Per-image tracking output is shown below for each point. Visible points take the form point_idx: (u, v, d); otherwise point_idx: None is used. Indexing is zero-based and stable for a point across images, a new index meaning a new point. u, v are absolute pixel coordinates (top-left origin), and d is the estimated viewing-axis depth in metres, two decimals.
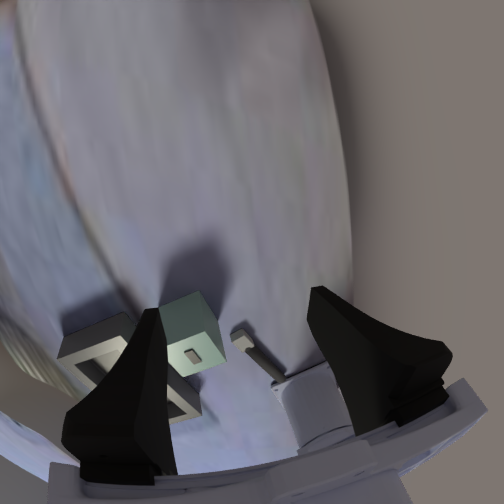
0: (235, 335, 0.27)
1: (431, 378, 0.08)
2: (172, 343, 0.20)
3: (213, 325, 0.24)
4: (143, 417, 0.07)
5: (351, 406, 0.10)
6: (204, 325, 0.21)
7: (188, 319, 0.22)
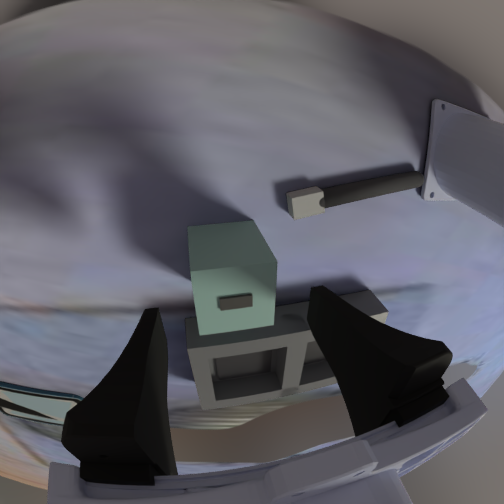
0: (289, 208, 0.17)
1: (431, 378, 0.08)
2: None
3: (232, 238, 0.16)
4: (143, 417, 0.07)
5: (351, 406, 0.10)
6: (192, 263, 0.13)
7: None
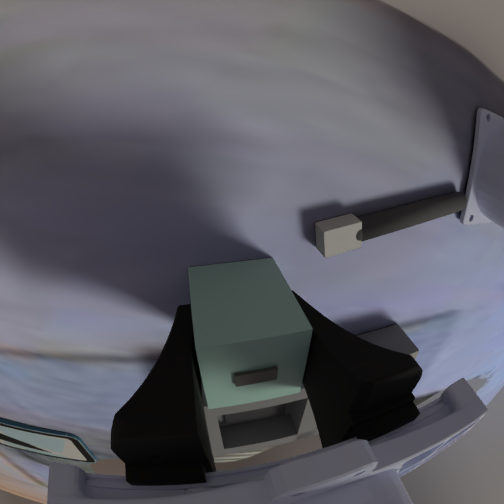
0: (319, 242, 0.14)
1: (399, 394, 0.08)
2: None
3: (248, 289, 0.12)
4: (197, 413, 0.07)
5: (318, 417, 0.10)
6: (197, 332, 0.10)
7: None
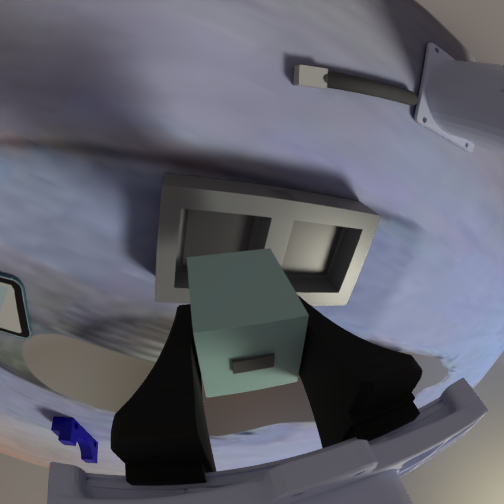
0: (295, 77, 0.16)
1: (398, 394, 0.08)
2: (202, 379, 0.11)
3: (246, 277, 0.12)
4: (197, 413, 0.07)
5: (318, 417, 0.10)
6: (195, 318, 0.10)
7: None
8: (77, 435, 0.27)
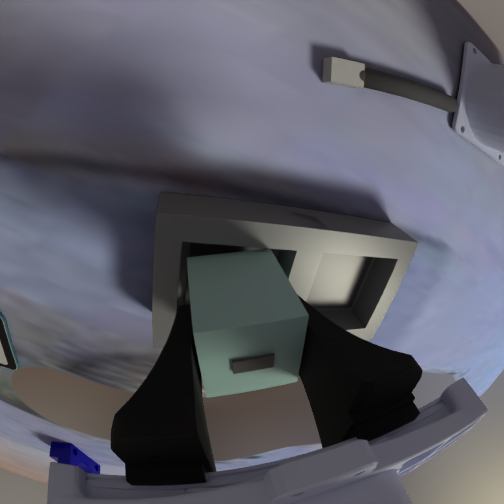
0: (326, 72, 0.13)
1: (399, 393, 0.08)
2: (202, 379, 0.11)
3: (246, 277, 0.12)
4: (197, 413, 0.07)
5: (318, 417, 0.10)
6: (195, 318, 0.10)
7: None
8: (76, 461, 0.24)
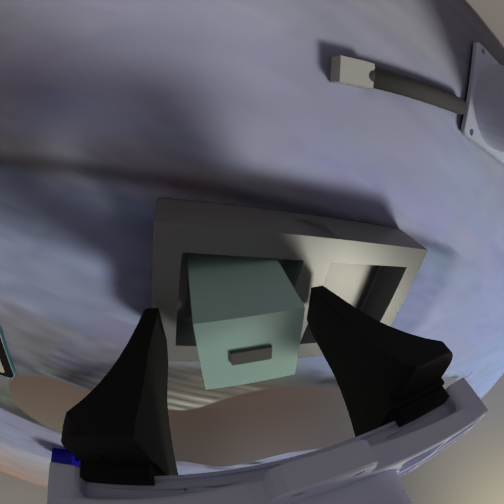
0: (334, 72, 0.12)
1: (431, 378, 0.08)
2: None
3: (244, 271, 0.12)
4: (143, 417, 0.07)
5: (351, 406, 0.10)
6: (194, 310, 0.10)
7: None
8: None
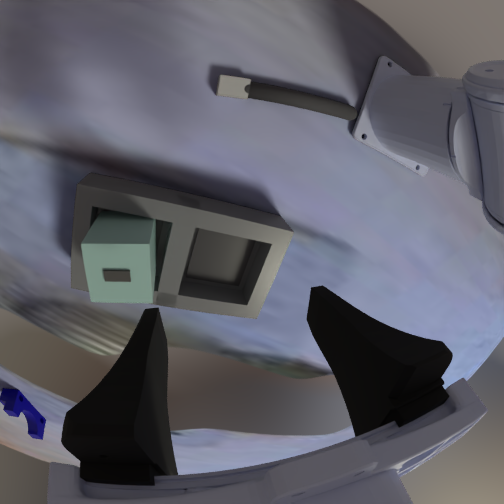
0: (217, 87, 0.17)
1: (431, 378, 0.08)
2: None
3: (128, 223, 0.17)
4: (143, 417, 0.07)
5: (351, 406, 0.10)
6: (86, 238, 0.15)
7: None
8: (21, 407, 0.25)
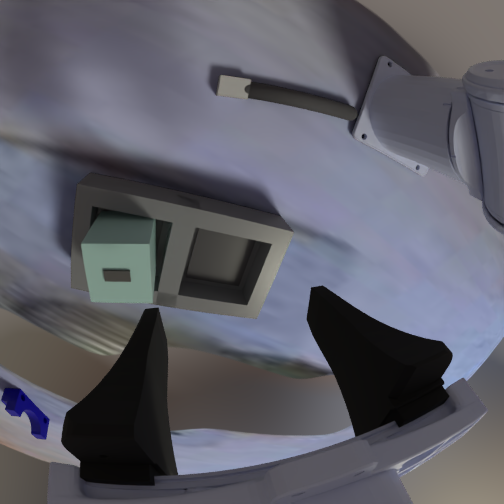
0: (217, 87, 0.17)
1: (431, 378, 0.08)
2: None
3: (128, 223, 0.17)
4: (143, 417, 0.07)
5: (351, 406, 0.10)
6: (86, 238, 0.15)
7: None
8: (23, 407, 0.25)
